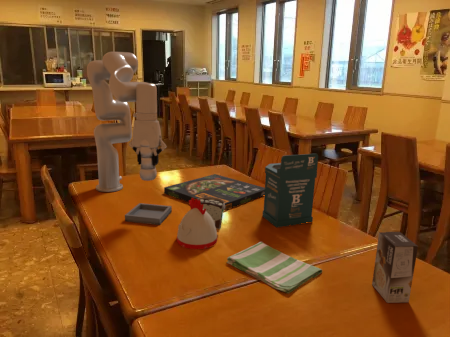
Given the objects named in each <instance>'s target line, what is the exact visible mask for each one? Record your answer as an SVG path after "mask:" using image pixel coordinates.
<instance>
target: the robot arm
mask: <svg viewBox="0 0 450 337" xmlns="http://www.w3.org/2000/svg"><path fill="white" fill-rule="evenodd" d="M138 68H139V62H138V58H137V56H136V55H135V54H134V53H132V52H127V51H108V52H107V53H105V54H104V55H103V56H102V59H97V60H96V59H95V60H91V61H90V62H89V63H88V64H87V66H86V75H87V80H88V81H89V82H88V83H89V84H90V87H91V90H92V97H93V105H94V106H93V107H94V112H95V113H94V114H95V117H96V119H97V120H98V121H118V122H108V123H100V124H97V125H96V126H95V127H94V129H93V136H94V137H93V138H94V141H95V145H96V156H97V157H96V158H97V171H98V173H97V174H98V175H97V176H98V184H97V185H96V186H95V190H96V191H98V192H101V193H102V192H103V193H113V192H118V191H120V190H122V189H123V188H124V186H123V184H122V183H120V181H121V180H122V179H123V177H122V176H121V175H120V167H119V166H120V165H119V164H120V163H119V152H118V150H117V148H116V147H114V145H113V144H120V143H128V142H129V143H128V146H129V147H130V148H131V149H132V150H133V151H134V152H135V154H136V156H137V159H136V160H137V163H138V165H139V166H141V155H140V147H141V146H140V143H141V141H143V140H146V141H147V142H148V143H149V148H153V152H154V156H153V166H155V167H156V166H157V165H158V163H159V162H160V161H159V159H160V158H159V155H160V153H161V152H163V151H164V150H165V149H166V148H168V146H167V144H166V143H165V142H164V141H163V139H162V130H161V125H160V121H159V120H158V100H157V99H158V95H157V94H158V93H157V92H158V91H157V89H158V88H157V86H156V84H155V83H150V82H145V81H132V80H133V77H134V74H135V73H136V72H137V71H138ZM107 81H108V82H107ZM114 98H115V99H114ZM129 103H135V105H136V108H135V109H136V112H135V113H131V108H130V105H129ZM131 114H132V115H131ZM132 116H133V117H134V118H135V119H136V120H134V122H133V126H132Z"/></svg>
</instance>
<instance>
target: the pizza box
mask: <svg viewBox="0 0 450 337" xmlns="http://www.w3.org/2000/svg"><path fill="white" fill-rule="evenodd" d="M163 190H164V191H163V192H164V193H163V194H165V195H167V196H171V197H173V198H176V199H179V200H181V201H184V202H187V203H189V200H191V199H192V198H194V201H195V199H198V198H202V197H215V198H219V199H222V200H223V201H224V203H225V209H224V210H223V212H225V211H227V210H231V209H233V208H236V207H238V206H241V205H243V204H246V203H248V202H251V200H252V201H254V200H257V199H259V198H262V197H264V196H263V195H265V186H260V185H256V184H253V183H249V182H246V181H243V180H242V181H241V180H238V179H234V178H231V177H227V176H223V175H219V174H216V173H213V174H210V175H207V176H201V177H199V178H195V179H191V180H187V181H186V180H185V181H183V182H179V183H175V184H172V185H168V186H165V187H164V188H163ZM261 196H262V197H261ZM258 197H259V198H258ZM256 198H257V199H256Z"/></svg>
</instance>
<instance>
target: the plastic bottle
mask: <svg viewBox="0 0 450 337" xmlns="http://www.w3.org/2000/svg"><path fill="white" fill-rule="evenodd" d="M140 146H141V147H140V155H141V164H140V168H139V169H140V170H139V177H140V179H141V180H142V181H146V182H148V181H155V179H156V178H157V174H158V173H157V172H158V171H157V168H156V166H153V156H154V152H153V148H149V143H148V142H147V141H146V140H143V141H141V143H140Z"/></svg>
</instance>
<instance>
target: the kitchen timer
mask: <svg viewBox="0 0 450 337" xmlns="http://www.w3.org/2000/svg"><path fill="white" fill-rule="evenodd" d="M188 203H189V204H188V205H189V208H190V210H188V211H187V212H186V213H185V215H184V216H183V217H182V219H181V221H180V223H179V224H178V226H177V228H178V229H177V234H176V235H177V236H176V242H177V244H178V245H179V246H181V247H182V248H186V249H189V250H203V249H209V248H211V247H213V246H214V245H216V244H217V242H218V233H217V229H216V227H215V220H213V219H212V217H211V216H210V215H209V214H208V212H207V211H206V209H203V204H202V205H201V201H200V200H198V199H195V201H194V198H192V199H191V200H189V202H188Z"/></svg>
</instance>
